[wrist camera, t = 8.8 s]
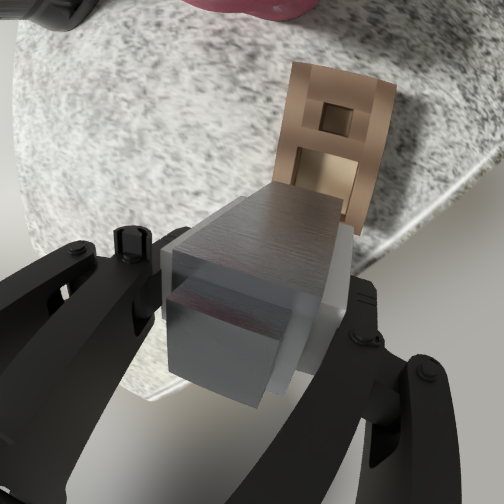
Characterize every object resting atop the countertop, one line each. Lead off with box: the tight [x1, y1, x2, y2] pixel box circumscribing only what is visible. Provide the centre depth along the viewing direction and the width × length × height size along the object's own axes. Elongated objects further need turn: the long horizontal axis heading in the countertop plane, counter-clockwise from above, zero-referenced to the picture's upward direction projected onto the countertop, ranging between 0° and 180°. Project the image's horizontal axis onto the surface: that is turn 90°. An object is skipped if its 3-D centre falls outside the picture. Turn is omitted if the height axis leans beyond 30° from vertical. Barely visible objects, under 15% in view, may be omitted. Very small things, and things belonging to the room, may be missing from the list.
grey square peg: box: [166, 181, 344, 408], centre depth 12 cm, size 4×4×11 cm
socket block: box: [272, 61, 397, 236], centre depth 25 cm, size 14×9×3 cm, turn 170°
